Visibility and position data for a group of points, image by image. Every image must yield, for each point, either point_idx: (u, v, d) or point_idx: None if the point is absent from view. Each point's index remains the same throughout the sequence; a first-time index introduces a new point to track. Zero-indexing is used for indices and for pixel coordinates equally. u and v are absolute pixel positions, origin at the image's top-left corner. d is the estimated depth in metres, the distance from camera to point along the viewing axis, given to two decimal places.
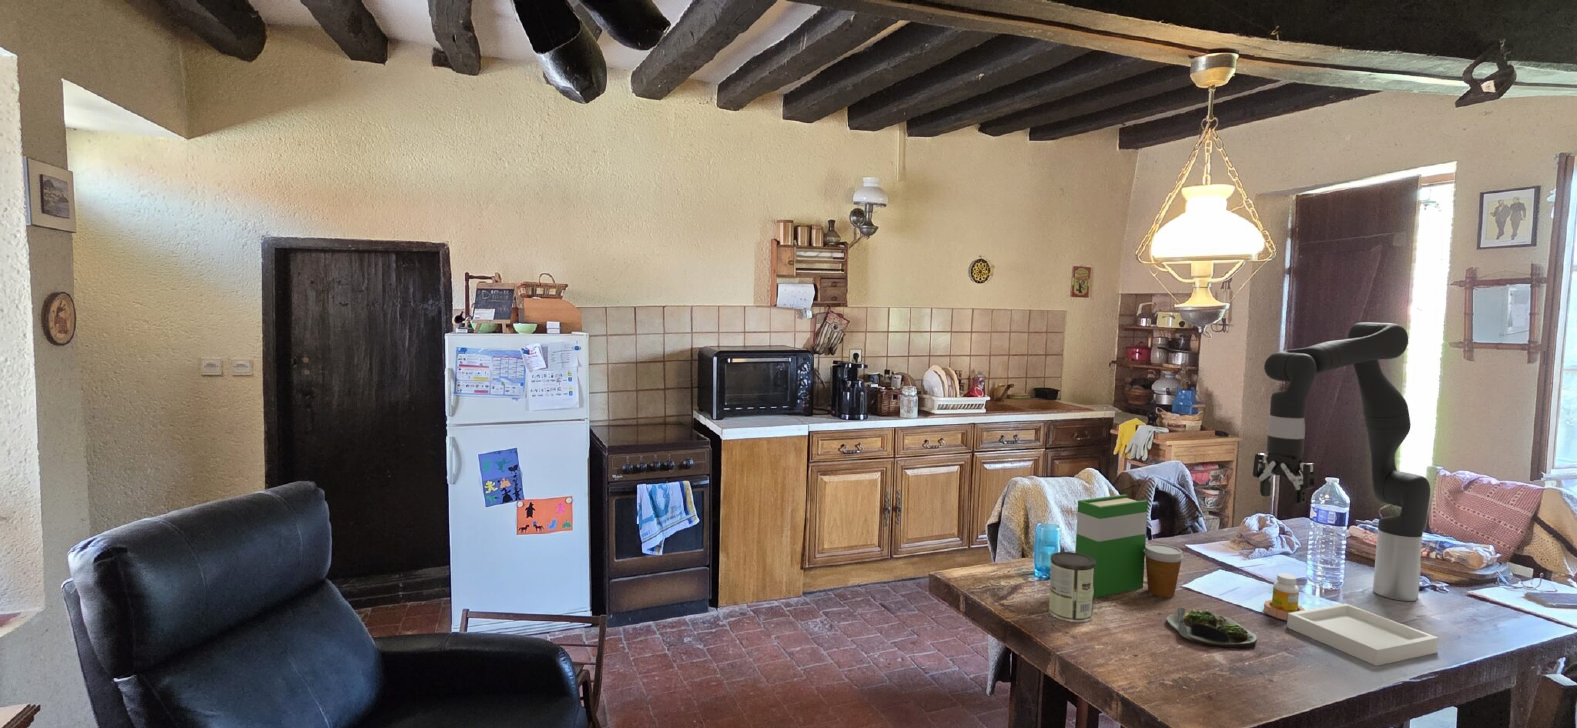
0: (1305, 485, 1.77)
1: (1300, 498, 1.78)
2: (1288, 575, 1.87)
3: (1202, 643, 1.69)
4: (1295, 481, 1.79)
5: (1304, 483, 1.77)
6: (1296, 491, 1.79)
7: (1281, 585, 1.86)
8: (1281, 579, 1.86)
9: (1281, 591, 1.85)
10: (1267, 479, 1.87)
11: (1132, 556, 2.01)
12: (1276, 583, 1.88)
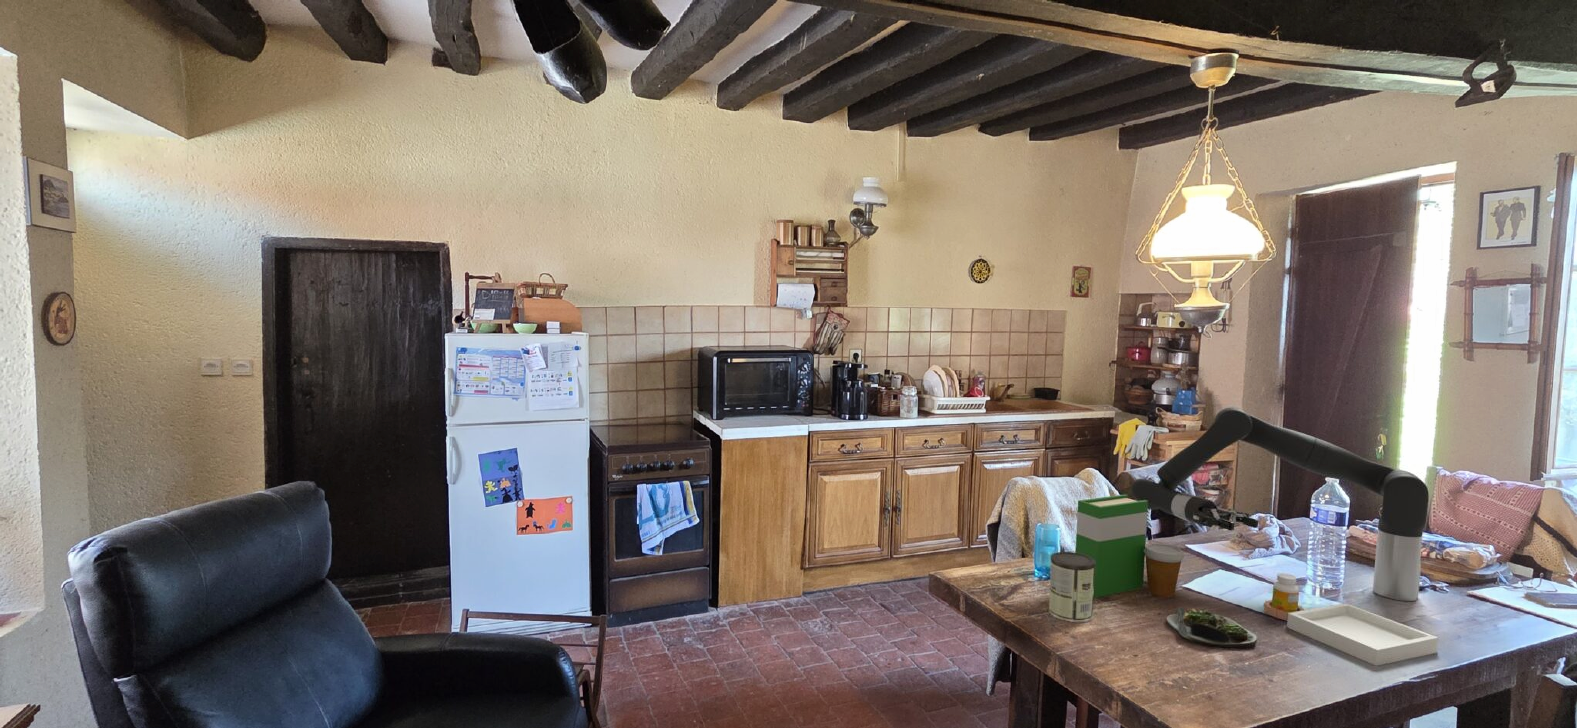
0: None
1: (1224, 527, 1.97)
2: (1288, 575, 1.87)
3: (1202, 643, 1.69)
4: None
5: None
6: None
7: (1281, 585, 1.86)
8: (1281, 579, 1.86)
9: (1281, 591, 1.85)
10: (1242, 519, 2.03)
11: (1132, 556, 2.01)
12: (1276, 583, 1.88)
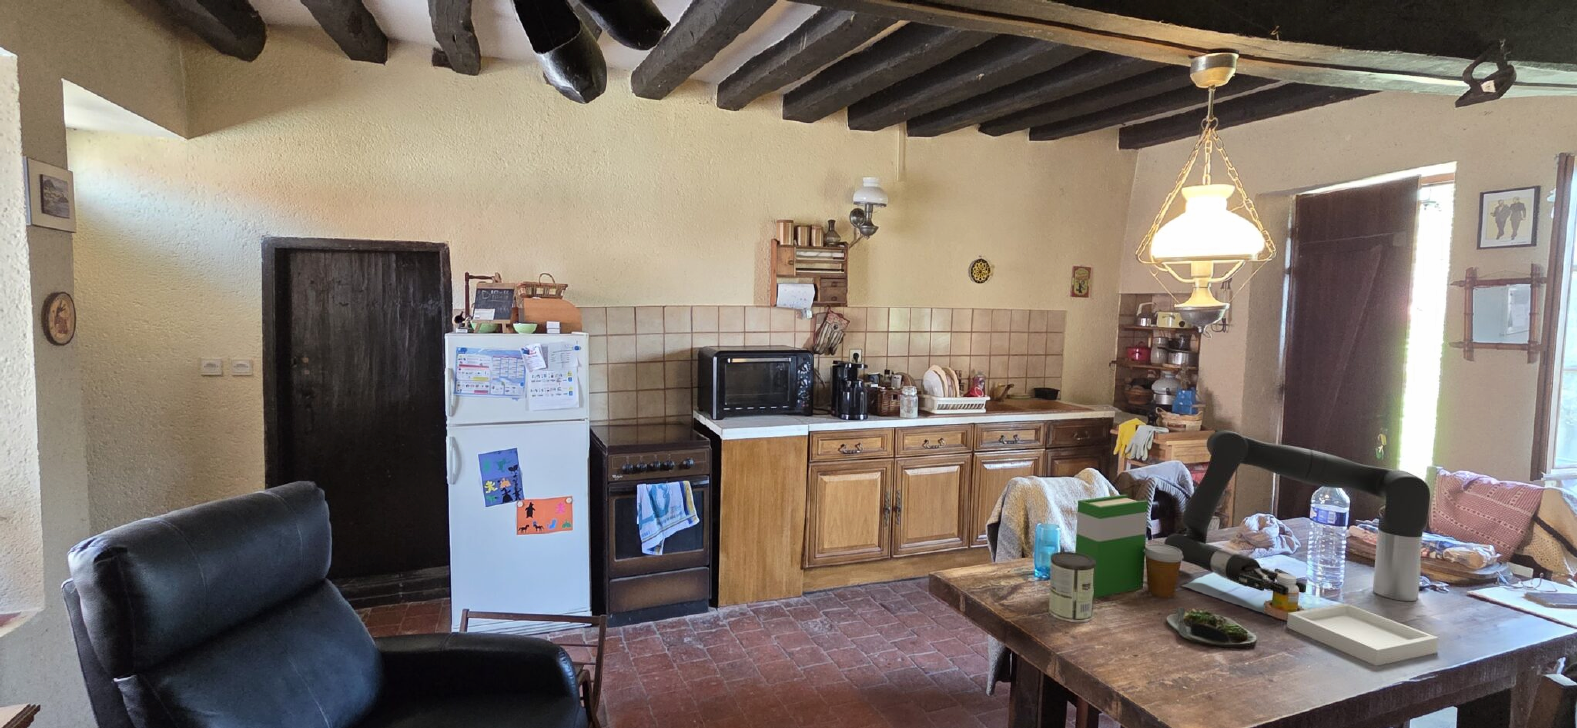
0: None
1: (1277, 591, 1.85)
2: (1288, 575, 1.87)
3: (1202, 643, 1.69)
4: None
5: None
6: None
7: None
8: (1281, 579, 1.86)
9: None
10: None
11: (1132, 556, 2.00)
12: None
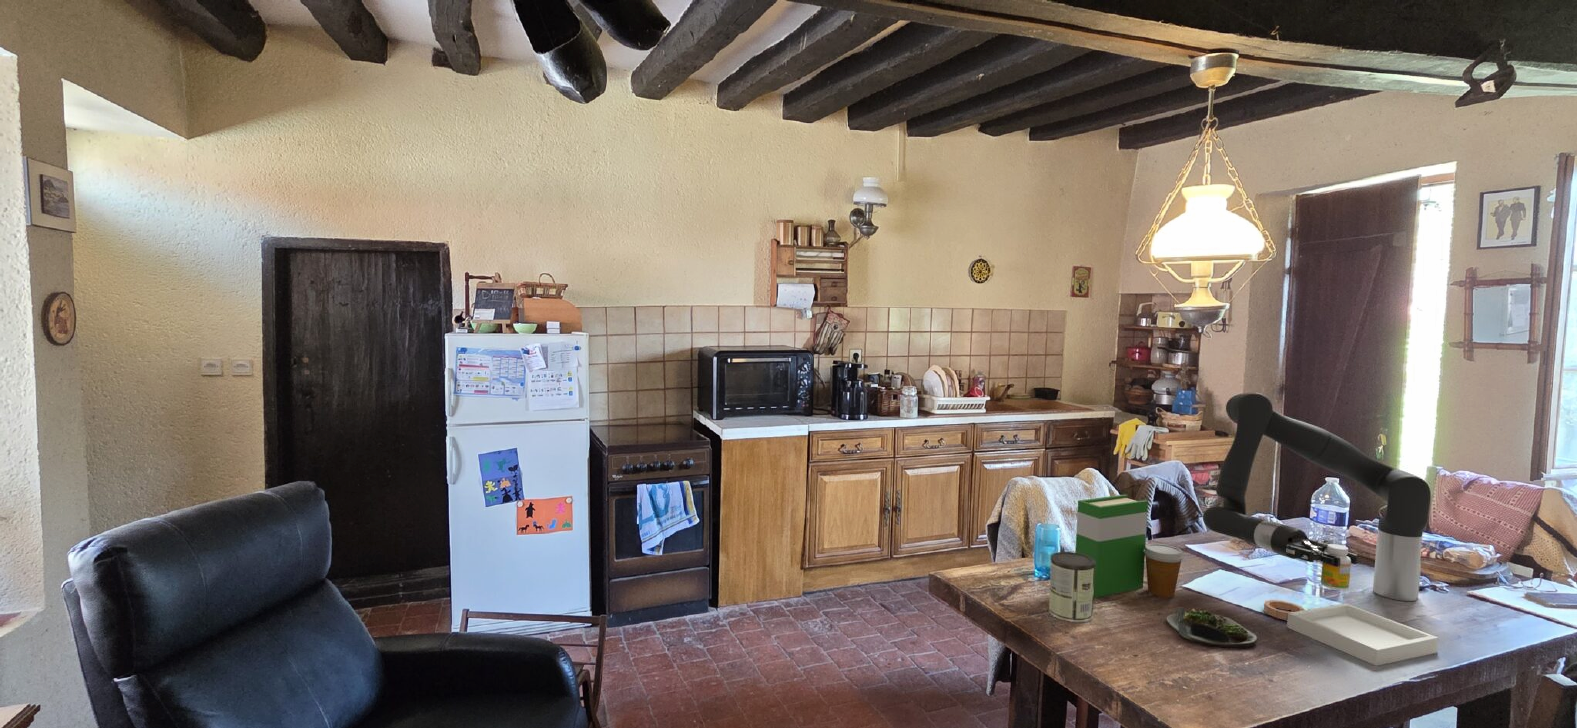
0: None
1: (1328, 563, 1.75)
2: (1339, 546, 1.77)
3: (1202, 643, 1.69)
4: None
5: None
6: None
7: None
8: (1331, 550, 1.76)
9: None
10: None
11: (1132, 556, 2.01)
12: None
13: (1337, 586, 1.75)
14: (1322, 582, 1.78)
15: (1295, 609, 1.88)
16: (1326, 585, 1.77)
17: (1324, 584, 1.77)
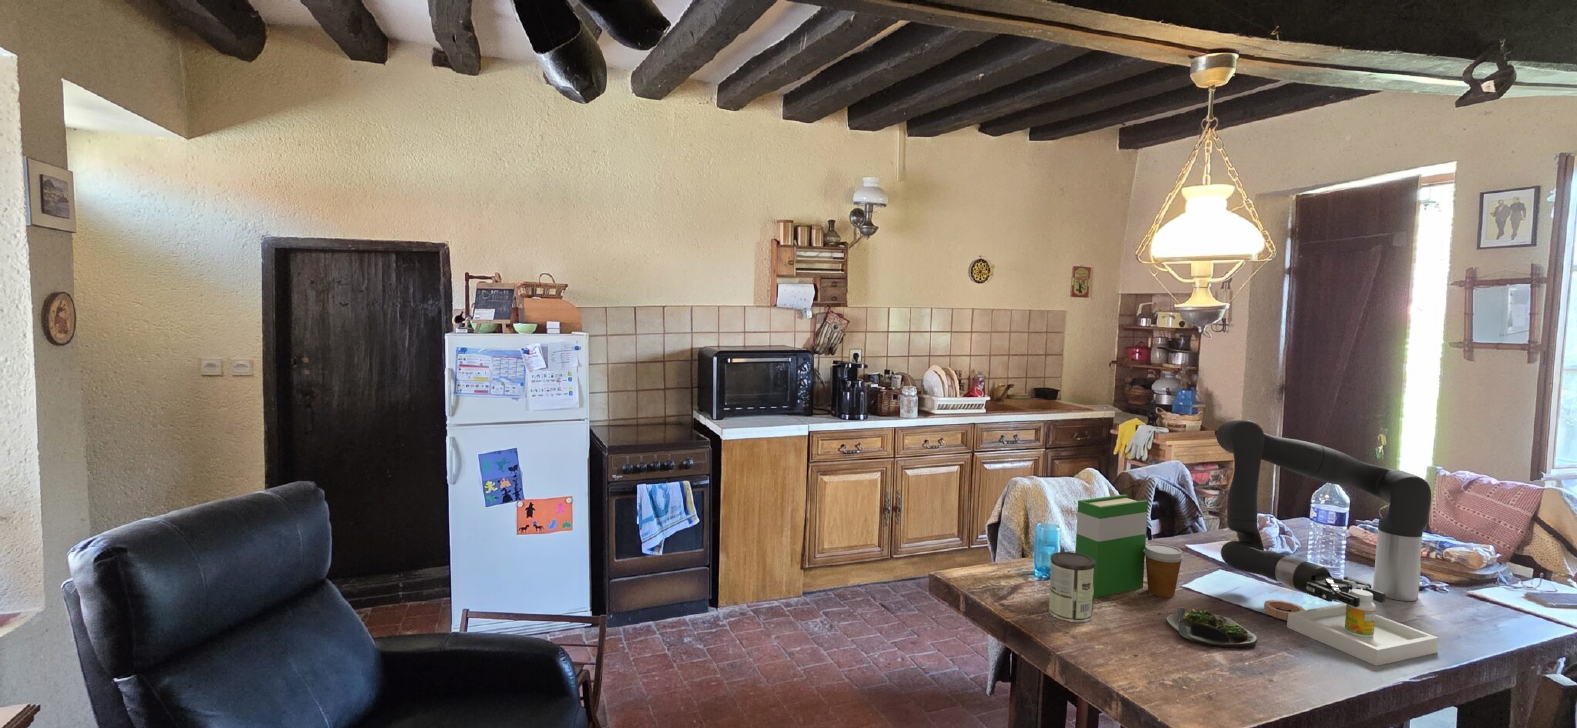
0: None
1: (1347, 603, 1.71)
2: (1363, 591, 1.73)
3: (1202, 643, 1.69)
4: None
5: None
6: None
7: None
8: (1356, 596, 1.72)
9: (1357, 609, 1.71)
10: None
11: (1132, 556, 2.01)
12: None
13: (1362, 633, 1.71)
14: (1346, 628, 1.74)
15: (1295, 609, 1.88)
16: (1350, 632, 1.73)
17: (1348, 631, 1.73)
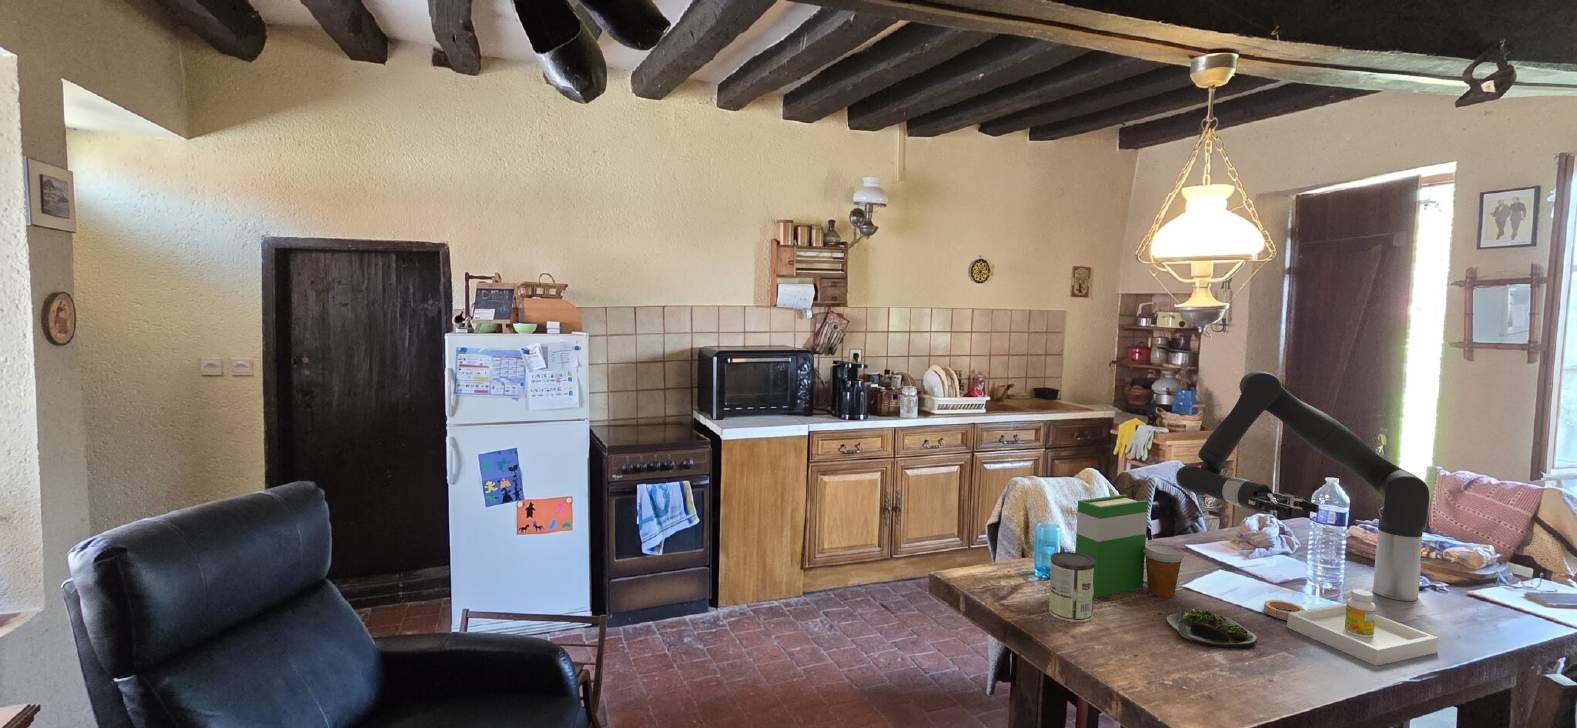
0: None
1: (1283, 512, 1.87)
2: (1363, 591, 1.73)
3: (1202, 643, 1.69)
4: None
5: None
6: None
7: (1356, 602, 1.72)
8: (1356, 596, 1.72)
9: (1357, 609, 1.71)
10: (1300, 504, 1.92)
11: (1132, 556, 2.01)
12: (1350, 600, 1.73)
13: (1362, 633, 1.71)
14: (1346, 629, 1.74)
15: (1295, 609, 1.88)
16: (1351, 632, 1.73)
17: (1348, 631, 1.73)
